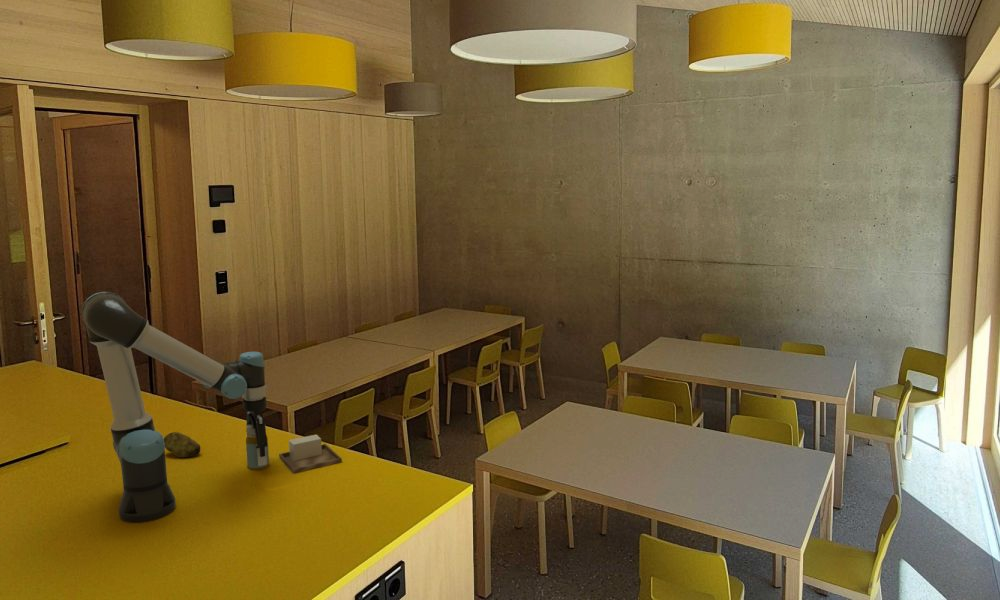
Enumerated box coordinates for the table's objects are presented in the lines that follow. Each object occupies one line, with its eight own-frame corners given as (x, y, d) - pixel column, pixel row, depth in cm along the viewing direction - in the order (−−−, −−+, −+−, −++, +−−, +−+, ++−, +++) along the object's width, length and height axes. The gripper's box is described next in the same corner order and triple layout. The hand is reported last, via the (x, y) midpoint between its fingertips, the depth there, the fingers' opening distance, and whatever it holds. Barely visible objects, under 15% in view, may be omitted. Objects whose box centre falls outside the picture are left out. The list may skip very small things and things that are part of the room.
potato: (183, 462, 241) (181, 441, 239) (160, 455, 247) (158, 434, 246) (203, 454, 248) (202, 433, 247) (181, 447, 254) (179, 427, 253)
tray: (293, 475, 231) (293, 469, 231) (279, 459, 244) (279, 453, 244) (341, 463, 240) (341, 458, 240) (325, 449, 253) (325, 443, 253)
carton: (294, 460, 241) (293, 444, 240) (289, 456, 245) (288, 440, 244) (321, 454, 247) (321, 438, 246) (317, 450, 251) (316, 434, 250)
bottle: (255, 473, 232) (252, 431, 230) (243, 468, 237) (240, 426, 234) (273, 466, 238) (270, 425, 235) (261, 461, 242) (258, 420, 239)
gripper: (275, 404, 226) (278, 468, 229) (256, 387, 244) (260, 446, 248) (251, 408, 221) (255, 473, 225) (234, 390, 240) (238, 450, 244)
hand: (258, 459), depth 237 cm, fingers open, 10 cm apart
